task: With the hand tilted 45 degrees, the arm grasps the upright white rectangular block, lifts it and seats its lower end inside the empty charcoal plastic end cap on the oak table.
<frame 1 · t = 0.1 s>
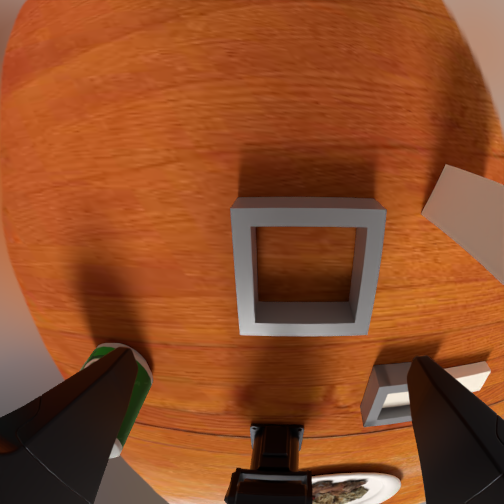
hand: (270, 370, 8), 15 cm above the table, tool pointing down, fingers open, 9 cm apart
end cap: (305, 260, 23), on the table
white rectangular block: (453, 202, 19), on the table
plated food: (324, 493, 43), on the table
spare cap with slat: (396, 384, 27), on the table
soda can: (126, 361, 30), on the table
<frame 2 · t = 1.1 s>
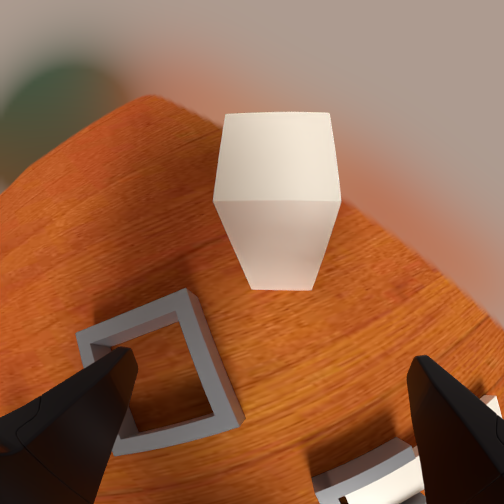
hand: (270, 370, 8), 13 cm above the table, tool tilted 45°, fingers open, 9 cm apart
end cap: (161, 378, 21), on the table
white rectangular block: (282, 261, 23), on the table
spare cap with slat: (368, 490, 16), on the table
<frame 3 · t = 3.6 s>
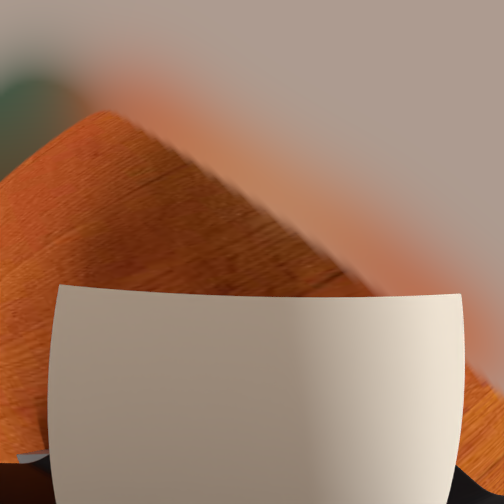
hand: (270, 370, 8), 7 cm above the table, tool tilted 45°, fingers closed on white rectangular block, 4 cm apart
white rectangular block: (274, 392, 14), on the table, touching gripper
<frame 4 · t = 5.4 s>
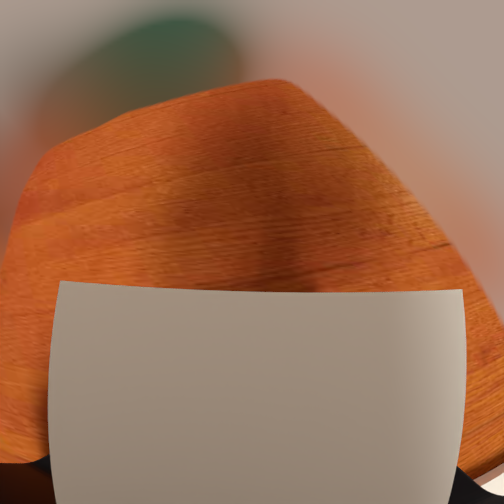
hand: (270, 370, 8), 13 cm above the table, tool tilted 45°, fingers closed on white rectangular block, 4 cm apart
white rectangular block: (275, 392, 14), point 7 cm above the table, touching gripper
when the fingers open (8 cm above the table, at t = 7.2 s): white rectangular block drops 1 cm, resting in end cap.
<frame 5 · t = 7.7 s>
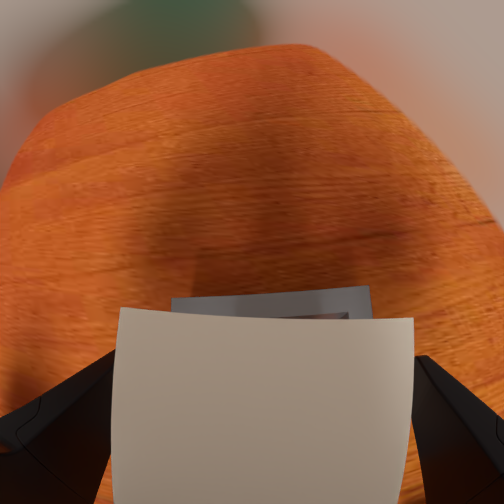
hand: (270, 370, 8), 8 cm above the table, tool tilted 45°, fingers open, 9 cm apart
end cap: (275, 390, 15), on the table
white rectangular block: (276, 389, 15), resting in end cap
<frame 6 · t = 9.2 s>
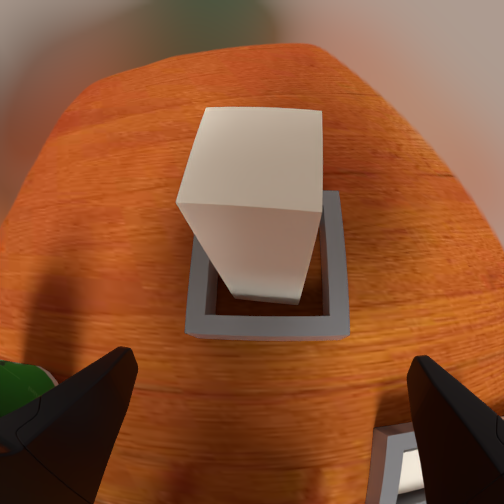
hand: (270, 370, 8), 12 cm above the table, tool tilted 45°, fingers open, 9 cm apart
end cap: (269, 271, 22), on the table
white rectangular block: (269, 271, 22), resting in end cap
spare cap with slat: (413, 462, 15), on the table
soda can: (47, 406, 19), on the table
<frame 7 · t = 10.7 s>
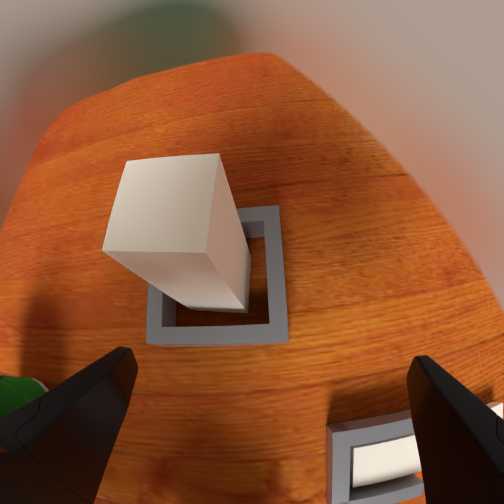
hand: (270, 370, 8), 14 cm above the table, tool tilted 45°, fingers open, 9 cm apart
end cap: (221, 284, 24), on the table
white rectangular block: (221, 283, 24), resting in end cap
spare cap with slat: (370, 457, 17), on the table
soda can: (43, 413, 21), on the table
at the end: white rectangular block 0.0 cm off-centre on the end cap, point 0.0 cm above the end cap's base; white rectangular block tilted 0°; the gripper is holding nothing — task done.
